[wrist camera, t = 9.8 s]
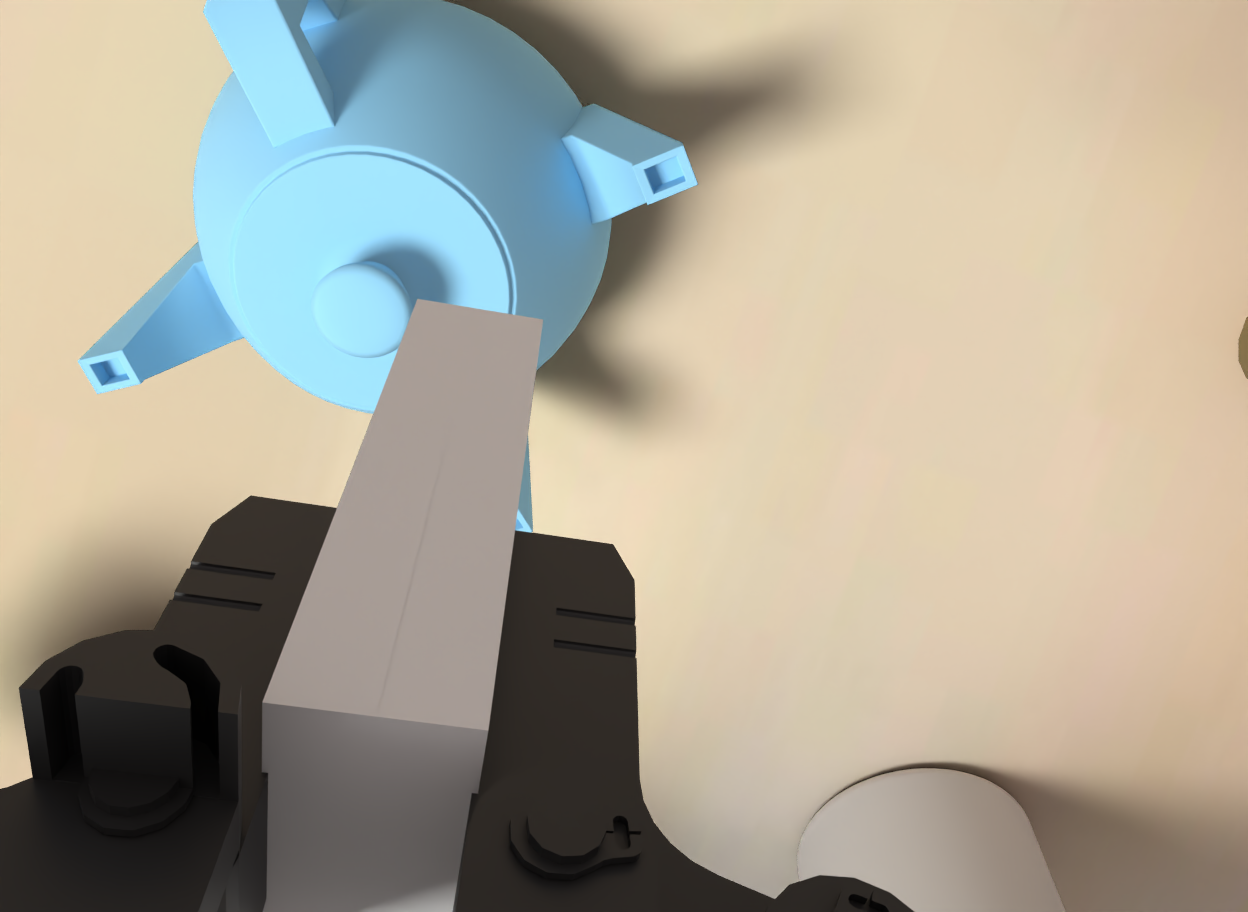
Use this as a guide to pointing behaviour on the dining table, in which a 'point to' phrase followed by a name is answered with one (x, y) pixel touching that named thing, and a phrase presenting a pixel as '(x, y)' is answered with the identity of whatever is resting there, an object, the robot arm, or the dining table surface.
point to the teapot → (385, 195)
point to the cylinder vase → (932, 843)
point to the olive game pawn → (1244, 348)
